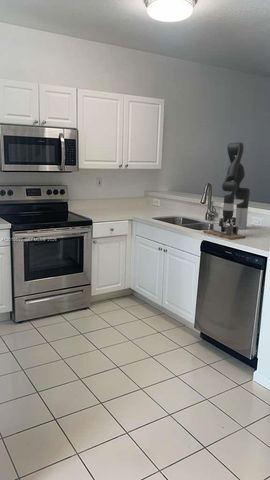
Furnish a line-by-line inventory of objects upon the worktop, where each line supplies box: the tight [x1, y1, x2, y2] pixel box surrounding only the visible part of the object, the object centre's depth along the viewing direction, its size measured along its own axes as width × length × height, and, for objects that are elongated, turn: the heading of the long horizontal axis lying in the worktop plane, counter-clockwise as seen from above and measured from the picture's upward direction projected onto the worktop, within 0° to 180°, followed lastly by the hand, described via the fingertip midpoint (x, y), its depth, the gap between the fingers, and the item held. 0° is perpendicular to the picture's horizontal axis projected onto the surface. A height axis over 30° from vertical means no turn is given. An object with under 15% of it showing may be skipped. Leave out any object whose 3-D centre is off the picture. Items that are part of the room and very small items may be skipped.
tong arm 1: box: [212, 223, 231, 235], centre depth 284 cm, size 20×2×5 cm, turn 24°
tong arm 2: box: [215, 222, 239, 234], centre depth 286 cm, size 20×2×5 cm, turn 36°
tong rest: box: [202, 222, 247, 241], centre depth 286 cm, size 30×14×8 cm, turn 30°
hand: (226, 231), depth 283 cm, fingers open, 7 cm apart
